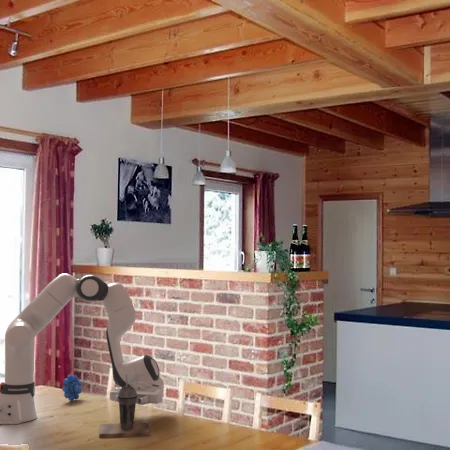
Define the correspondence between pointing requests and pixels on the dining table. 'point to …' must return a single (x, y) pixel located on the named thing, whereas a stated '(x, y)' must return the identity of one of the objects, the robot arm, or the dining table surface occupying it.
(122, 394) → the beverage cup
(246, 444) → the dining table surface
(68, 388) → the grapes
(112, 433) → the walnut board
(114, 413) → the dining table surface
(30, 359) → the robot arm
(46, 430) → the dining table surface
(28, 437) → the dining table surface
